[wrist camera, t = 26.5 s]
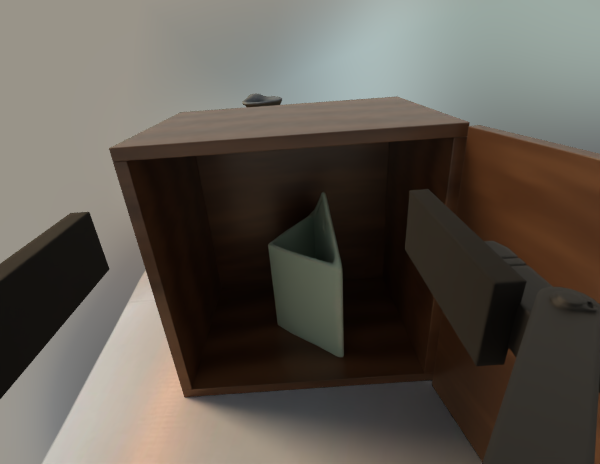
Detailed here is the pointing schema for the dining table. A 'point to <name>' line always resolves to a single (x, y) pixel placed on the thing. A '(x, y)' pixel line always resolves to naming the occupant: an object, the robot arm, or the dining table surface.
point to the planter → (310, 280)
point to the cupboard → (279, 218)
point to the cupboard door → (520, 250)
